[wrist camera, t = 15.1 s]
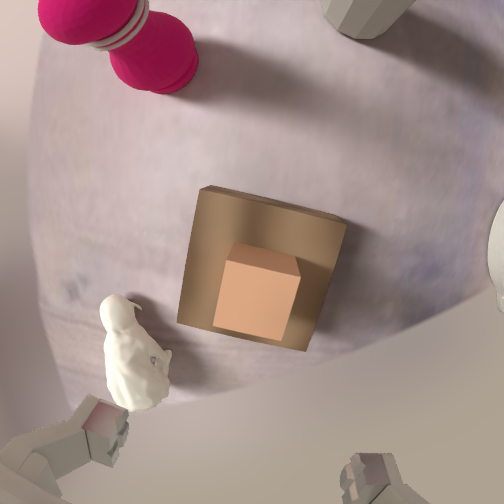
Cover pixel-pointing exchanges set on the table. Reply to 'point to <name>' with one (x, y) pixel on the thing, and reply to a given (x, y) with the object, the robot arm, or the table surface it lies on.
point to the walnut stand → (266, 237)
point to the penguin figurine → (132, 358)
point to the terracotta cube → (257, 291)
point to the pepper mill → (127, 39)
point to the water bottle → (363, 16)
